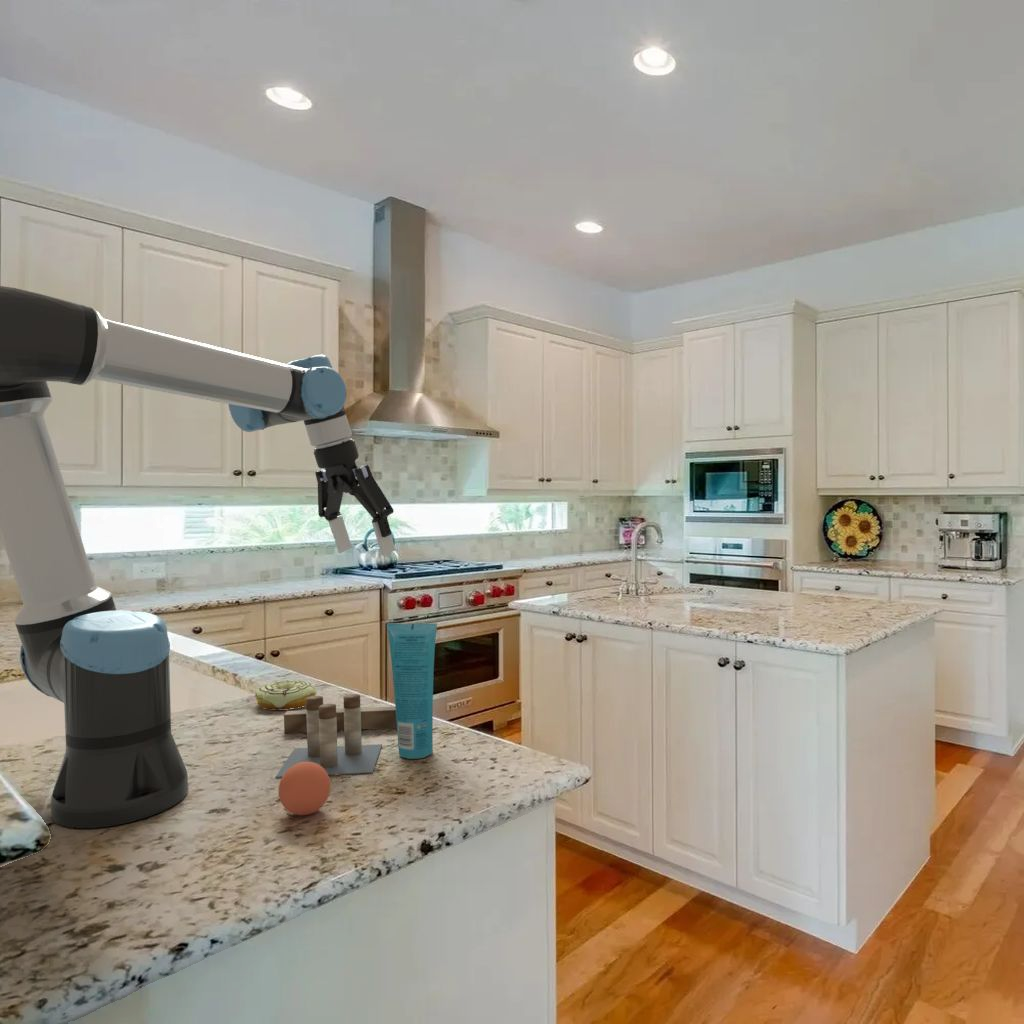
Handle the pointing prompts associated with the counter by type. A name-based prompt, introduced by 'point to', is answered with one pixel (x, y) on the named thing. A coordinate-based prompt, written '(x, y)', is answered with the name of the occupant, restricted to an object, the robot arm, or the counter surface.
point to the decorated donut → (284, 694)
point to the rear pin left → (352, 724)
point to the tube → (413, 686)
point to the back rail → (369, 719)
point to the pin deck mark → (345, 762)
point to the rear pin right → (313, 725)
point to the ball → (304, 788)
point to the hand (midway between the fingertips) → (366, 551)
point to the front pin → (328, 735)
